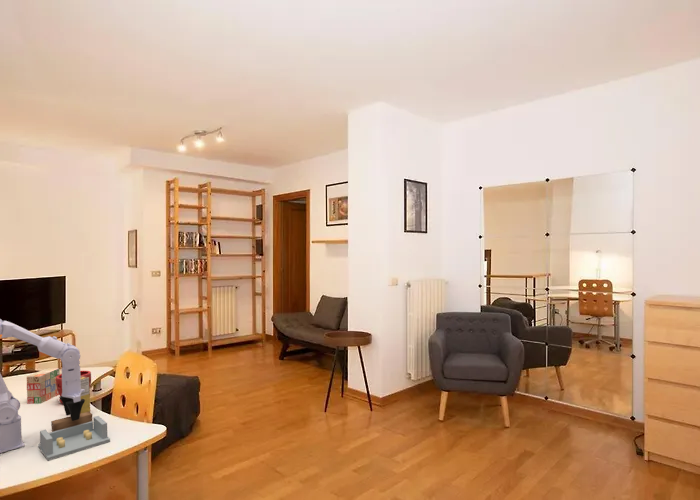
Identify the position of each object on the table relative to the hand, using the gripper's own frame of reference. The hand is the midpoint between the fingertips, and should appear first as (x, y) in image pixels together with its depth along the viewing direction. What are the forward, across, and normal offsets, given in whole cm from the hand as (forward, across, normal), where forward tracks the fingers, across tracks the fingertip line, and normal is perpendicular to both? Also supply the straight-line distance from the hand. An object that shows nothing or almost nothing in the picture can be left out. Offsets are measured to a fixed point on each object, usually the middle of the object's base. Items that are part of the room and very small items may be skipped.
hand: (72, 417), depth 158 cm
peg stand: (+6, -11, +2) cm, 13 cm away
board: (+6, 0, 0) cm, 6 cm away
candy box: (+6, +20, -7) cm, 22 cm away
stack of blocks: (+6, +57, -4) cm, 57 cm away
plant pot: (+6, +40, -10) cm, 42 cm away
